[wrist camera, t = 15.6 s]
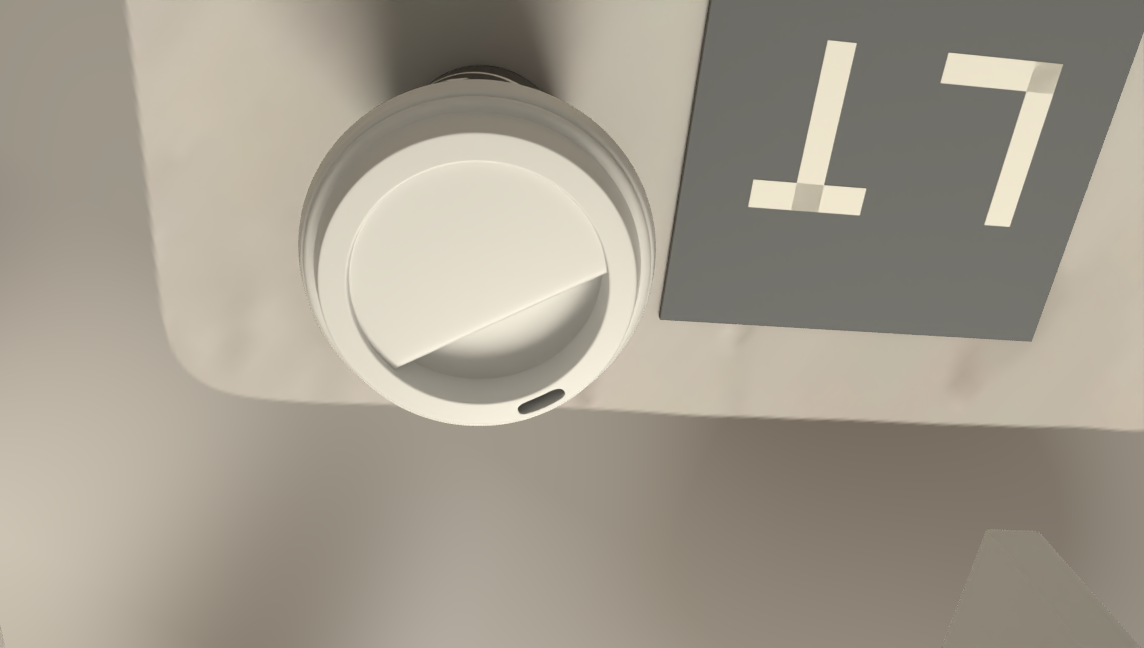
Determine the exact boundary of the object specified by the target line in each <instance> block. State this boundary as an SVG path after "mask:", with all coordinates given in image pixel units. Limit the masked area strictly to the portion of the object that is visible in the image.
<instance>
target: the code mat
mask: <svg viewBox="0 0 1144 648" xmlns="http://www.w3.org/2000/svg"><path fill="white" fill-rule="evenodd" d="M1143 32H1144V0H710V2H709V8H708V15H707V21H706V27H705V33H704V40H703V46H702V52H701V58H700V65H699V71H698V77H697V83H696V90H695V96H694V102H693V108H692V115H691V121H690V127H689V133H688V140H687V146H686V152H685V158H684V165H683V171H682V177H681V183H680V190H679V196H678V202H677V208H676V215H675V221H674V227H673V233H672V240H671V246H670V252H669V258H668V265H667V271H666V277H665V283H664V290H663V296H662V302H661V309H660V315H659V318H660V320H674V321H691V322H708V323H725V324H742V325H759V326H776V327H793V328H810V329H827V330H844V331H861V332H878V333H895V334H912V335H929V336H946V337H963V338H980V339H997V340H1014V341H1031V342H1032V339H1033V336H1034V333H1035V331H1036V328H1037V325H1038V322H1039V319H1040V317H1041V314H1042V311H1043V308H1044V306H1045V303H1046V300H1047V297H1048V295H1049V292H1050V289H1051V286H1052V284H1053V281H1054V278H1055V275H1056V273H1057V270H1058V267H1059V264H1060V261H1061V259H1062V256H1063V253H1064V250H1065V248H1066V245H1067V242H1068V239H1069V237H1070V234H1071V231H1072V228H1073V226H1074V223H1075V220H1076V217H1077V215H1078V212H1079V209H1080V206H1081V203H1082V201H1083V198H1084V195H1085V192H1086V190H1087V187H1088V184H1089V181H1090V179H1091V176H1092V173H1093V170H1094V168H1095V165H1096V162H1097V159H1098V157H1099V154H1100V151H1101V148H1102V145H1103V143H1104V140H1105V137H1106V134H1107V132H1108V129H1109V126H1110V123H1111V121H1112V118H1113V115H1114V112H1115V110H1116V107H1117V104H1118V101H1119V99H1120V96H1121V93H1122V90H1123V87H1124V85H1125V82H1126V79H1127V76H1128V74H1129V71H1130V68H1131V65H1132V63H1133V60H1134V57H1135V54H1136V52H1137V49H1138V46H1139V43H1140V41H1141V38H1142V35H1143Z"/></svg>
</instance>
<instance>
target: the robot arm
mask: <svg viewBox="0 0 1144 648" xmlns="http://www.w3.org/2000/svg"><path fill="white" fill-rule="evenodd" d="M0 648H5V644H4V640H3V635H2V631H1V627H0ZM942 648H1141V647H1140V646H1139V645H1138V644H1137V642H1136V641H1135V640H1134V639H1133V638H1132V637H1131V636H1130V635H1129V633H1128V632H1127V631H1126V630H1125V629H1124V628H1123V627H1122V626H1121V624H1120V623H1119V622H1118V621H1117V620H1116V619H1115V618H1114V616H1113V615H1112V614H1111V613H1110V612H1109V611H1108V610H1107V609H1106V607H1104V605H1103V604H1102V603H1101V602H1100V601H1099V600H1098V599H1097V597H1096V596H1095V595H1094V594H1093V593H1092V592H1091V591H1090V589H1089V588H1088V587H1087V586H1086V585H1085V584H1084V583H1083V581H1082V580H1081V579H1080V578H1079V577H1078V576H1077V575H1076V574H1075V572H1074V571H1073V570H1072V569H1071V568H1070V567H1069V566H1068V565H1067V563H1066V562H1065V561H1064V560H1063V559H1062V558H1061V557H1060V555H1059V554H1058V553H1057V552H1056V551H1055V550H1054V549H1053V548H1052V547H1051V545H1050V544H1049V543H1048V542H1047V541H1046V540H1045V539H1044V537H1043V536H1042V535H1041V534H1040V533H1039V532H1038V531H1018V530H989V529H987V530H986V533H985V535H984V538H983V541H982V543H981V546H980V549H979V552H978V554H977V557H976V559H975V562H974V564H973V567H972V569H971V573H970V575H969V577H968V580H967V582H966V585H965V588H964V591H963V593H962V595H961V598H960V601H959V603H958V606H957V609H956V611H955V614H954V616H953V619H952V622H951V624H950V627H949V630H948V632H947V635H946V637H945V640H944V642H943V645H942Z"/></svg>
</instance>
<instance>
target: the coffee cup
mask: <svg viewBox="0 0 1144 648" xmlns="http://www.w3.org/2000/svg"><path fill="white" fill-rule="evenodd" d="M298 247H299V262H300V270H301V276H302V281H303V286H304V290H305V294H306V297H307V300H308V303H309V306H310V309H311V311H312V313H313V316H314V318H315V320H316V322H317V324H318V326H319V328H320V330H321V331H322V333H323V335H324V336H325V338H326V339H327V341H328V342H329V344H330V345H331V346H332V348H333V349H334V351H335V352H336V353H337V355H338V356H339V357H340V358H341V359H342V361H343V362H344V363H345V364H346V365H347V366H348V367H349V368H350V369H351V370H352V371H353V372H354V373H355V374H356V375H357V376H358V377H360V378H361V379H362V380H363V381H364V382H365V383H366V384H367V385H368V386H370V387H371V388H372V389H373V390H374V391H376V392H377V393H378V394H380V395H381V396H383V397H384V398H386V399H387V400H389V401H390V402H392V403H394V404H396V405H397V406H399V407H401V408H403V409H405V410H407V411H410V412H412V413H414V414H417V415H420V416H422V417H426V418H429V419H432V420H436V421H440V422H445V423H450V424H457V425H468V426H489V425H500V424H507V423H512V422H517V421H521V420H525V419H529V418H532V417H535V416H537V415H540V414H543V413H545V412H547V411H549V410H552V409H554V408H556V407H558V406H560V405H561V404H563V403H565V402H566V401H568V400H570V399H571V398H573V397H574V396H576V395H577V394H578V393H580V392H581V391H582V390H583V389H585V388H586V387H587V386H588V385H589V384H590V383H591V382H593V381H594V380H595V379H596V378H597V377H599V376H600V375H601V374H602V373H603V372H604V371H605V370H606V369H607V368H608V367H609V366H610V365H611V363H612V362H613V361H614V360H615V359H616V358H617V356H618V355H619V354H620V352H621V351H622V350H623V348H624V347H625V346H626V344H627V343H628V341H629V340H630V338H631V336H632V335H633V333H634V331H635V329H636V327H637V326H638V324H639V321H640V319H641V317H642V315H643V312H644V309H645V307H646V304H647V301H648V297H649V294H650V290H651V285H652V280H653V275H654V268H655V257H656V241H655V229H654V222H653V217H652V213H651V208H650V205H649V202H648V198H647V196H646V193H645V190H644V188H643V185H642V183H641V181H640V179H639V177H638V175H637V173H636V171H635V169H634V168H633V166H632V164H631V163H630V161H629V160H628V158H627V157H626V155H625V154H624V152H623V151H622V150H621V149H620V147H619V146H618V145H617V144H616V142H615V141H614V140H613V139H612V138H611V137H610V136H609V135H608V134H607V133H606V132H605V131H604V130H603V129H602V128H601V127H600V126H599V125H598V124H596V123H595V122H594V121H593V120H592V119H590V118H589V117H588V116H586V115H585V114H584V113H582V112H581V111H579V110H578V109H576V108H574V107H573V106H571V105H569V104H568V103H566V102H564V101H562V100H560V99H558V98H556V97H554V96H552V95H549V94H547V93H544V92H542V91H540V90H539V89H538V88H537V87H536V86H535V85H533V84H532V83H531V82H530V81H528V80H527V79H525V78H524V77H522V76H520V75H518V74H516V73H514V72H511V71H509V70H506V69H503V68H499V67H493V66H468V67H463V68H459V69H456V70H453V71H450V72H448V73H446V74H444V75H442V76H440V77H439V78H437V79H435V80H434V81H433V82H431V83H430V84H429V85H427V86H423V87H420V88H416V89H413V90H411V91H408V92H405V93H403V94H400V95H398V96H396V97H394V98H392V99H390V100H388V101H386V102H384V103H383V104H381V105H379V106H377V107H376V108H374V109H373V110H371V111H370V112H368V113H367V114H366V115H364V116H363V117H362V118H360V119H359V120H358V121H357V122H356V123H354V124H353V125H352V126H351V127H350V128H349V129H348V130H347V131H346V132H345V133H344V134H343V135H342V136H341V137H340V138H339V139H338V140H337V142H336V143H335V144H334V145H333V147H332V148H331V149H330V151H329V152H328V153H327V155H326V156H325V158H324V159H323V161H322V162H321V164H320V166H319V168H318V169H317V171H316V173H315V175H314V177H313V180H312V182H311V184H310V187H309V189H308V192H307V195H306V198H305V201H304V205H303V209H302V214H301V219H300V226H299V241H298Z"/></svg>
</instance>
